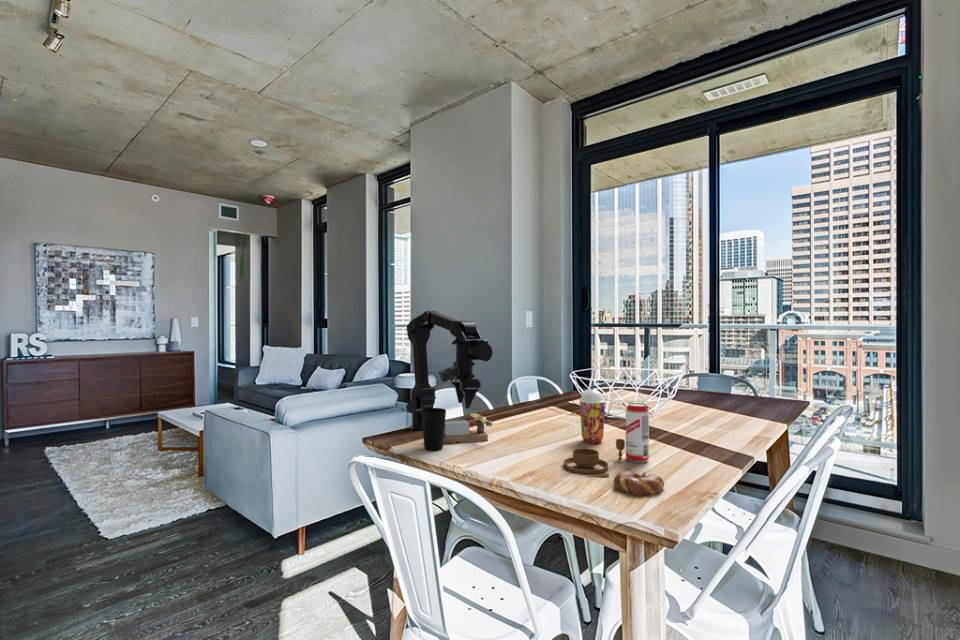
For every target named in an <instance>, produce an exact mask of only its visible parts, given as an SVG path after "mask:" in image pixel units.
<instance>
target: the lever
mask: <svg viewBox="0 0 960 640" xmlns="http://www.w3.org/2000/svg"><path fill="white" fill-rule="evenodd" d="M470 416H471V417H472V418H474V420H475V421H476V422H477V421H481V422H482V423H484V425H485V427H492V426H493V421H492V420H488V419H487V417H486V416H483V415H480V414H479V413H470Z"/></svg>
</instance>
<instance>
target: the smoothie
mask: <svg viewBox="0 0 960 640" xmlns="http://www.w3.org/2000/svg"><path fill="white" fill-rule="evenodd" d="M594 385H595V384H594V380H591V388H589V389H587V390H586V391H584V392H583V393H582V394H581V396H580V398H579V409H580V412H579V413H580V427H581V428H580V429H581V438H582V440H583V442H584V443H586V442H587V443H586V444H591V443H598V444H601V443H602V440H603V439H604V431H605V417H606V416H605V414H606V413H605V412H606V402H607V400H606V399H605V396H604V395H603V394H602V393H601V392H600V391H599V390H597V389H595V388H594ZM600 442H601V443H600Z"/></svg>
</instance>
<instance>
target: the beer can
mask: <svg viewBox="0 0 960 640" xmlns="http://www.w3.org/2000/svg"><path fill="white" fill-rule="evenodd" d="M649 417H650V411H649V409H648V405H647V404H646V403H641V402H629V403H627V407H626V409H625V458H626V459H627V460H628V461H629V462H631V463H636V464H637V463H638V464H643V463H646V462H647V461H648V460H649V458H650V456H649V455H650V454H649V453H650V451H649V449H650V448H649V447H650V442H649V441H650V437H649V436H650V429H649V428H650V426H649V425H650V418H649Z"/></svg>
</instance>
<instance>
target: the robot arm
mask: <svg viewBox="0 0 960 640" xmlns="http://www.w3.org/2000/svg"><path fill="white" fill-rule="evenodd" d="M435 326H437V327H439V328H441V329H442V328H443V329H445V330H446V331H448V332H449V333H450V335H451V336H453V337H455V339H454V340H452V342H451V345H455V361H454V362H453V364H452V365H451V366H449V367H446V368H443V369H441V370H439V371H437V373H438V376H439V379H440V381H442V383H445V382H448V381H449V383H450V384H451V385H452V386H453V387H454V390H455V393H456V397H457V399H456V400H457V403H458V404H462V403H463V401H464V407H465V409H467V410H468V409H470V407H471V405H472V403H473V401H474V399H475V397H476V395H477V393H478V391H479V390H480V388H481V387H482V385H481V384H482V381H481V380H479V378H477V377H475V374H474V366H476V363H475V362H474V361H480V362H488V361H490V360H491V359H492V357H493V351H494V350H493V349H492V346H491V345H490V344H489V340H488V339H483V338H482V336H481V333H480V332H479V330H478V328H477V325H476V322H474V321H473V320H461V319H456V318H452V317H450V316H447V315H445V314H443V313H439V312H438V311H436V310H426V311H424V312H423V313H421V314H420V315H418V316H417V317H414V318H413V319H411V320H410V321H409V322H408V324H407V325H406V334H407V339H408V341H410V343H411V345H412V353H413V354H412V355H413V368H414V369H413V371H414V372H413V373H414V382H415V383H414V386H413V388H412V390H411V394H410V395H411V396H410V399H409V401H408V403H407V404H406V406H405V409H406V413H409V414H411V425H409V428H410V429H411V430H412V431H419V430H420V431H421V430H422V431H423V425H422V414H421V410H423V409H427V408H434V406H435V403H436V399H437V397H436V388H435V387H432V386H431V384H430V382H429V381H430V379H429V367H428V351H427V350H428V349H427V344H428V342H429V339H430V337H431V331H432V330H433V329H434V328H435ZM412 427H414V428H412Z"/></svg>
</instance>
